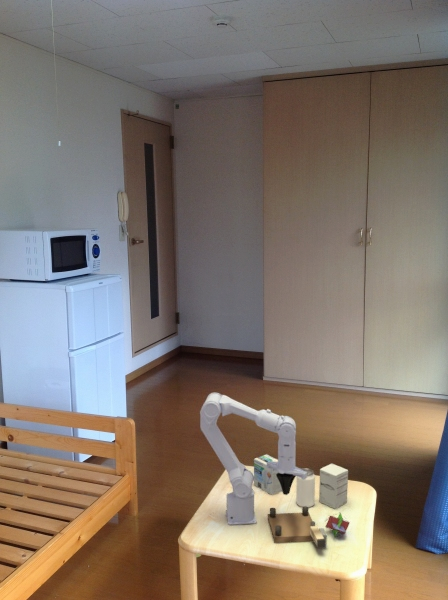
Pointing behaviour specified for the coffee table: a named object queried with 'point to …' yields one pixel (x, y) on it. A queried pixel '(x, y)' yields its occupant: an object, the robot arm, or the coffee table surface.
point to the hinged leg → (317, 535)
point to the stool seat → (290, 526)
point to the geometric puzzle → (337, 524)
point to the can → (306, 489)
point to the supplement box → (333, 486)
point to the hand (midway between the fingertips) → (286, 493)
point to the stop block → (324, 536)
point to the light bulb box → (266, 475)
